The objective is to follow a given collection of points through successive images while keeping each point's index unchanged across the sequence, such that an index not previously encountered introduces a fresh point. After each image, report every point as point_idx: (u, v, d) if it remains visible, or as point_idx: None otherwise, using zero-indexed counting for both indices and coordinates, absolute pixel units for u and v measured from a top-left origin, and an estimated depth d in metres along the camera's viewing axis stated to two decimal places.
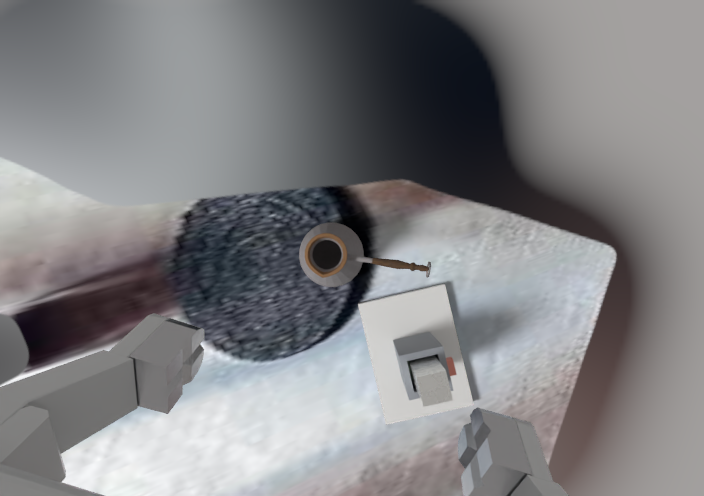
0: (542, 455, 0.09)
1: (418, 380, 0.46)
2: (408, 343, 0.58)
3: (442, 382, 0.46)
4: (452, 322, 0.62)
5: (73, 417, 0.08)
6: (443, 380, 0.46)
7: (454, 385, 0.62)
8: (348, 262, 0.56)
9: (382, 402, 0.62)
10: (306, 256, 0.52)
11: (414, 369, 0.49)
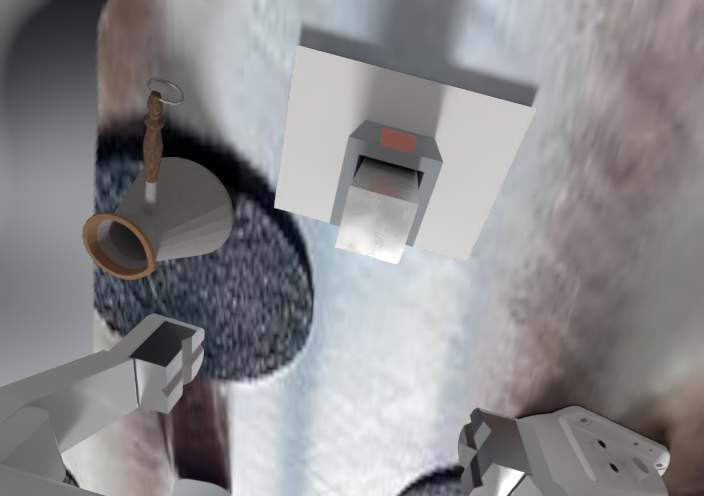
0: (542, 455, 0.09)
1: (343, 246, 0.21)
2: None
3: (369, 206, 0.20)
4: (370, 67, 0.31)
5: (73, 417, 0.08)
6: (367, 202, 0.20)
7: (479, 125, 0.32)
8: (169, 206, 0.33)
9: (432, 249, 0.38)
10: (115, 274, 0.31)
11: None
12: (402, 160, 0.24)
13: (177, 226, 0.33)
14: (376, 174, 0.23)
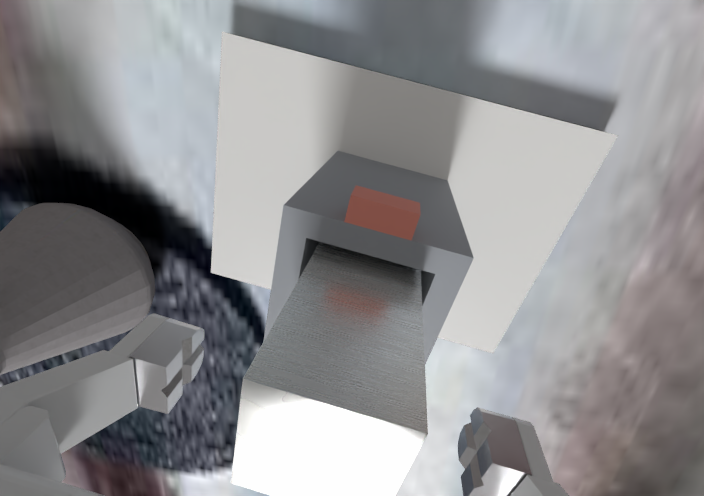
0: (542, 455, 0.09)
1: (248, 484, 0.09)
2: None
3: (298, 423, 0.08)
4: (342, 69, 0.19)
5: (73, 417, 0.08)
6: (293, 415, 0.08)
7: (520, 160, 0.20)
8: (26, 290, 0.21)
9: (442, 335, 0.26)
10: None
11: None
12: (391, 251, 0.12)
13: (40, 319, 0.21)
14: (333, 294, 0.11)
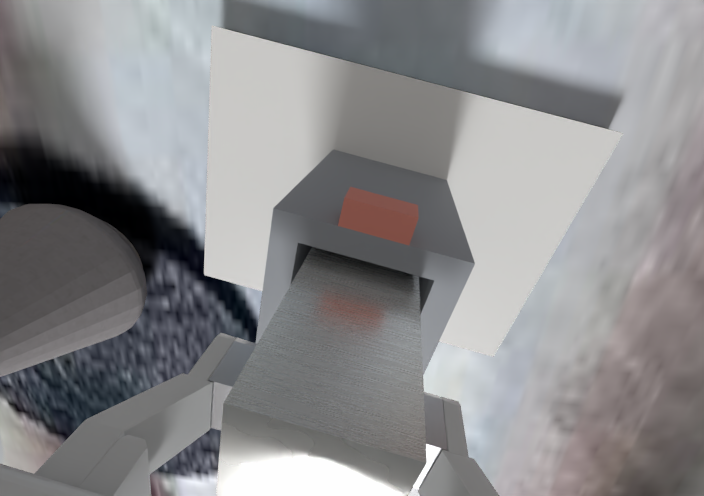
0: (463, 432, 0.09)
1: None
2: None
3: (285, 450, 0.07)
4: (337, 64, 0.18)
5: (158, 442, 0.08)
6: (279, 442, 0.07)
7: (521, 159, 0.19)
8: (10, 294, 0.20)
9: (441, 338, 0.25)
10: None
11: None
12: (388, 257, 0.12)
13: (26, 325, 0.20)
14: (325, 304, 0.10)
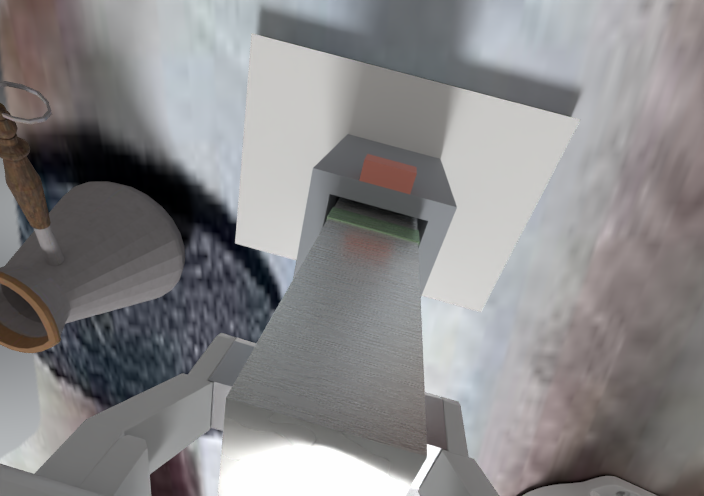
0: (463, 432, 0.09)
1: None
2: None
3: (288, 444, 0.07)
4: (352, 64, 0.23)
5: (158, 442, 0.08)
6: (282, 435, 0.07)
7: (501, 141, 0.24)
8: (85, 251, 0.24)
9: (436, 296, 0.30)
10: (8, 346, 0.23)
11: None
12: (394, 203, 0.16)
13: (97, 277, 0.25)
14: (326, 301, 0.10)
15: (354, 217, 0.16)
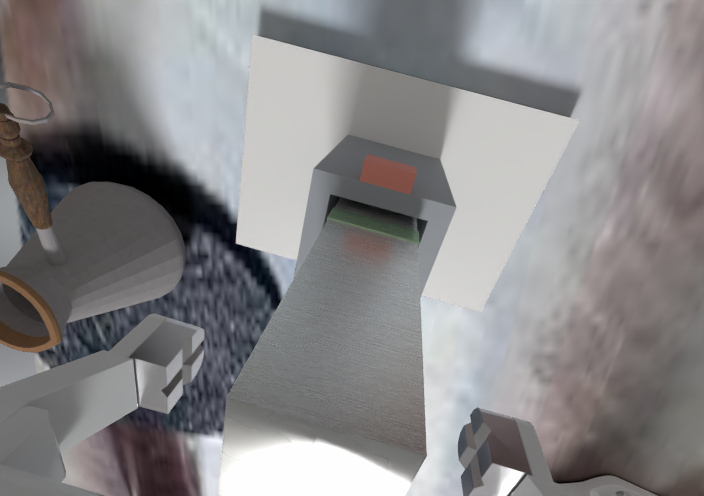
0: (542, 454, 0.09)
1: None
2: None
3: (288, 443, 0.07)
4: (352, 65, 0.23)
5: (73, 417, 0.08)
6: (282, 435, 0.07)
7: (500, 141, 0.24)
8: (87, 251, 0.24)
9: (436, 296, 0.30)
10: (10, 345, 0.23)
11: None
12: (394, 203, 0.16)
13: (98, 277, 0.25)
14: (327, 301, 0.10)
15: (354, 218, 0.16)
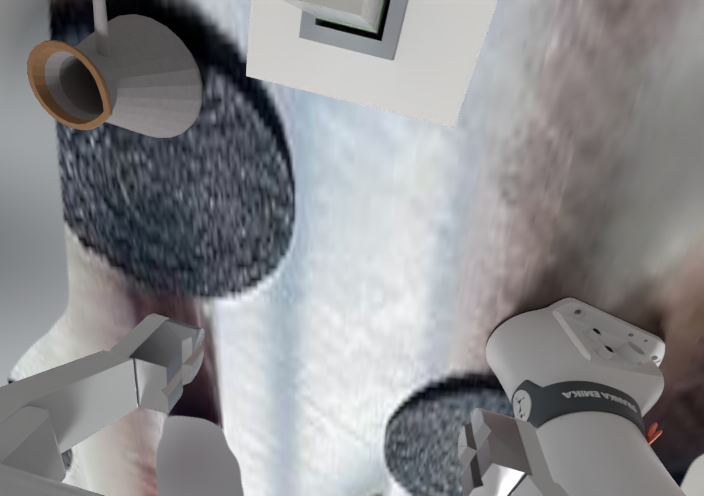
0: (542, 455, 0.09)
1: None
2: None
3: None
4: None
5: (73, 417, 0.08)
6: None
7: None
8: (126, 53, 0.30)
9: (417, 115, 0.36)
10: (69, 124, 0.29)
11: None
12: None
13: (136, 76, 0.30)
14: None
15: None
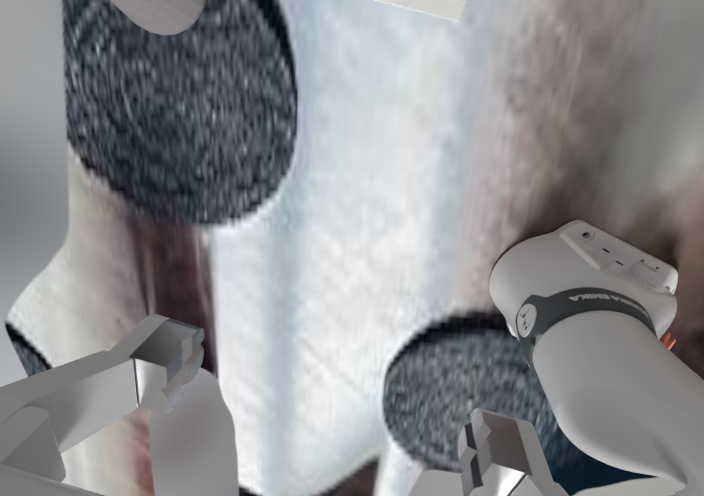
0: (542, 455, 0.09)
1: None
2: None
3: None
4: None
5: (73, 417, 0.08)
6: None
7: None
8: None
9: (422, 7, 0.35)
10: None
11: None
12: None
13: None
14: None
15: None
